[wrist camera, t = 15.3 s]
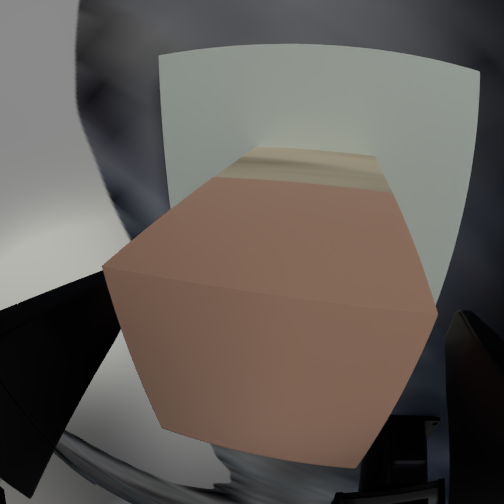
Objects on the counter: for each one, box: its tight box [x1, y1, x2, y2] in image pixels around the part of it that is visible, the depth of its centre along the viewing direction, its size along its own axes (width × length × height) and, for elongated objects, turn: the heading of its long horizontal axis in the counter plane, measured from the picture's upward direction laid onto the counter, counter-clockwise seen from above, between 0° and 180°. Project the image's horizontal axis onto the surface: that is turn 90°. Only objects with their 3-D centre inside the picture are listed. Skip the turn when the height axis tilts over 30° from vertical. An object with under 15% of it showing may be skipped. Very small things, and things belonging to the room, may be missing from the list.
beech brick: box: [214, 147, 392, 193], centre depth 12 cm, size 5×5×5 cm
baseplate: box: [159, 44, 480, 306], centre depth 14 cm, size 14×14×2 cm
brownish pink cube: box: [102, 177, 438, 469], centre depth 7 cm, size 5×5×5 cm
